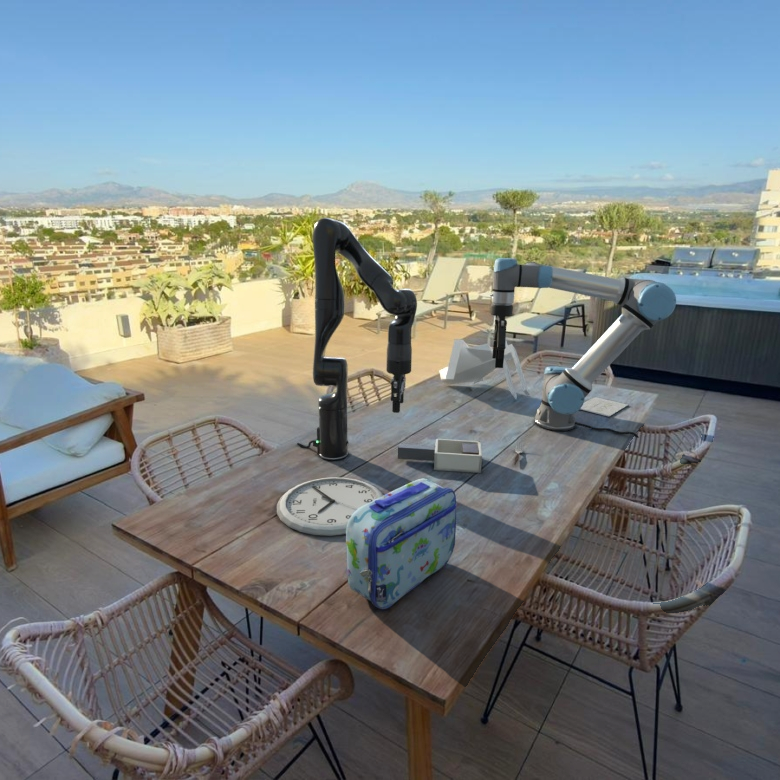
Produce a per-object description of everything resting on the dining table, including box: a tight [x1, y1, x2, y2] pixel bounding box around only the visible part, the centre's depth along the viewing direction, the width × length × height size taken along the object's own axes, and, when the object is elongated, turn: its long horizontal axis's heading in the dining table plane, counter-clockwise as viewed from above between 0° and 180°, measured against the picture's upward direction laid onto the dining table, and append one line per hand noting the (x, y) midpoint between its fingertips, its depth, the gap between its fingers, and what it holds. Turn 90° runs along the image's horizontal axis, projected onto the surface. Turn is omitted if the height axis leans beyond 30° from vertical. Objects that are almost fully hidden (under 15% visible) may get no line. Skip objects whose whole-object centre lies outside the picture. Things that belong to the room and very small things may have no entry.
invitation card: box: [579, 396, 629, 418], centre depth 226 cm, size 21×1×15 cm
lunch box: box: [345, 477, 457, 610], centre depth 110 cm, size 26×11×21 cm, turn 134°
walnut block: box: [462, 443, 479, 455], centre depth 168 cm, size 5×5×7 cm
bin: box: [397, 438, 483, 474], centre depth 169 cm, size 27×12×6 cm, turn 83°
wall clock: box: [276, 476, 385, 537], centre depth 142 cm, size 30×2×30 cm
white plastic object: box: [438, 315, 531, 400], centre depth 245 cm, size 37×45×31 cm
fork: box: [514, 442, 525, 466], centre depth 175 cm, size 3×16×2 cm, turn 160°
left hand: (398, 407), depth 162 cm, fingers open, 8 cm apart
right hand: (497, 362), depth 189 cm, fingers open, 13 cm apart
